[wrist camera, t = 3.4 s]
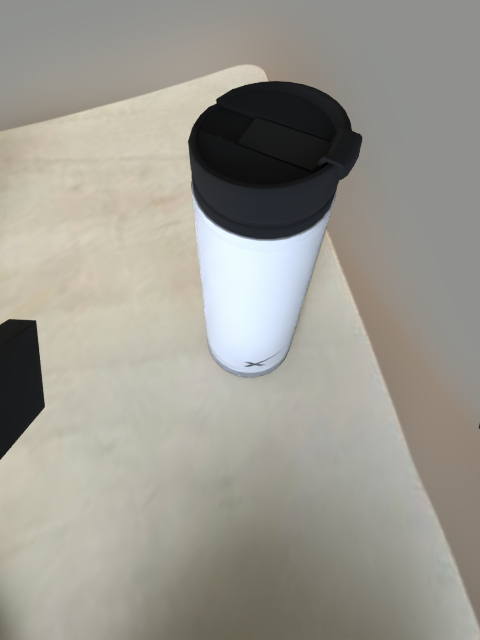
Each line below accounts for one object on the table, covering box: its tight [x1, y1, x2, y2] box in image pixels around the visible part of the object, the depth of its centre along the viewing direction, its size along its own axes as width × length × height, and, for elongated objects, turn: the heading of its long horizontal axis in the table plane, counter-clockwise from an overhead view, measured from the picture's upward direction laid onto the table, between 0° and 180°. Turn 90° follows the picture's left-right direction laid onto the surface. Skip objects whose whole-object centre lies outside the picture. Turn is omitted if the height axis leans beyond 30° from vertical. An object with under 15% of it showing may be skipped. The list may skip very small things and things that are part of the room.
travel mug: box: [188, 81, 362, 377], centre depth 26 cm, size 6×7×20 cm
